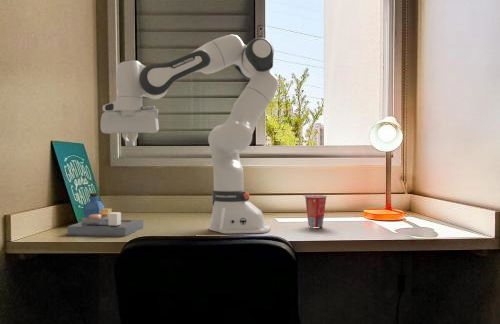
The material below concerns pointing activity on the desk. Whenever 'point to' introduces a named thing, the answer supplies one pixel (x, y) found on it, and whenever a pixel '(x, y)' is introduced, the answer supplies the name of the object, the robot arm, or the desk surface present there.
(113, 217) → the ivory slider
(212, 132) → the robot arm
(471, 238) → the desk surface
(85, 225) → the console
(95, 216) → the push button
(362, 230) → the desk surface
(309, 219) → the cup
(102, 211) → the brass slider
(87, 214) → the perfume bottle
